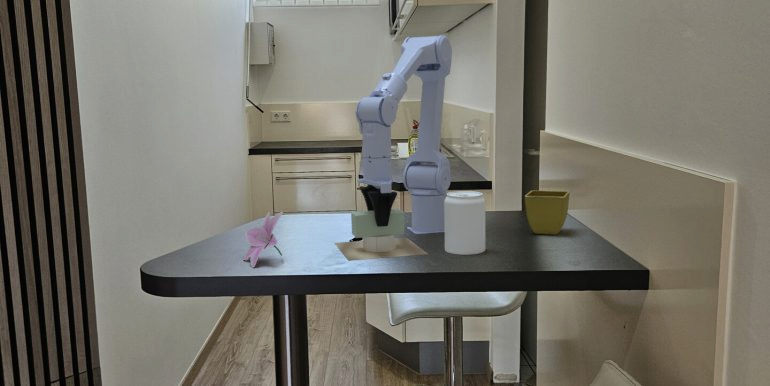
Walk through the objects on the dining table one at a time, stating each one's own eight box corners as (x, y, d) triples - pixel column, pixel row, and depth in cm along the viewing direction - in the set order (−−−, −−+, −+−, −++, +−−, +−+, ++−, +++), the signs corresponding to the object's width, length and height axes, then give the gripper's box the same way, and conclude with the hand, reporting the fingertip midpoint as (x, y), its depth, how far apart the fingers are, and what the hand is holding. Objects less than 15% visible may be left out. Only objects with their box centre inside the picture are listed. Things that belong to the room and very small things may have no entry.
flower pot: (523, 235, 156) (523, 195, 155) (530, 227, 164) (531, 189, 163) (564, 237, 153) (564, 196, 151) (569, 229, 161) (570, 191, 159)
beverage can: (459, 259, 136) (458, 198, 134) (437, 251, 143) (436, 193, 141) (493, 254, 139) (493, 194, 138) (470, 246, 146) (470, 189, 145)
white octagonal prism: (390, 243, 148) (390, 229, 147) (398, 250, 142) (398, 235, 141) (360, 246, 146) (360, 231, 146) (367, 252, 140) (367, 238, 140)
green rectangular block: (398, 230, 147) (398, 208, 146) (404, 234, 142) (404, 212, 142) (351, 233, 144) (351, 212, 144) (356, 237, 140) (355, 215, 139)
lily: (250, 258, 145) (228, 221, 141) (302, 234, 145) (281, 197, 140) (250, 290, 135) (226, 253, 130) (306, 265, 135) (284, 227, 130)
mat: (406, 240, 154) (406, 237, 154) (428, 257, 138) (428, 253, 138) (334, 245, 150) (334, 242, 150) (348, 263, 134) (348, 260, 134)
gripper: (350, 154, 147) (352, 218, 149) (365, 161, 133) (367, 231, 135) (383, 152, 149) (384, 216, 151) (401, 159, 135) (402, 229, 137)
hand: (378, 223), depth 143 cm, fingers open, 6 cm apart
